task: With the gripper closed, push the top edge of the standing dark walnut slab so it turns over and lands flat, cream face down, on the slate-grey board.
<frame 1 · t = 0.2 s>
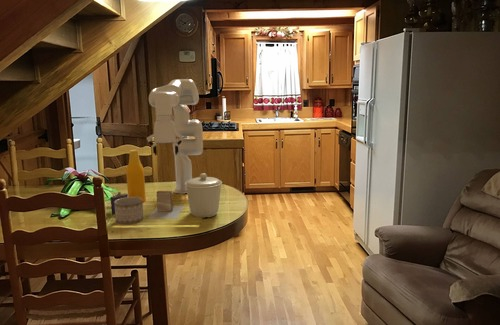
hand: (166, 154, 193), 31 cm above the table, fingers open, 9 cm apart
board: (166, 213, 201), on the table
canister: (204, 215, 199), on the table
slab: (165, 210, 203), point 1 cm above the table, touching board
planter: (130, 222, 191), on the table
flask: (120, 212, 204), on the table
beer bottle: (137, 203, 220), on the table
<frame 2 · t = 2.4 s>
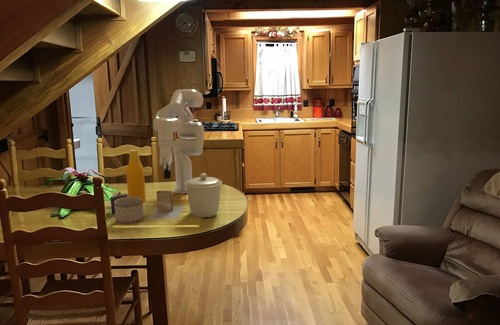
hand: (167, 178, 209), 16 cm above the table, fingers closed
nothing on the table moved.
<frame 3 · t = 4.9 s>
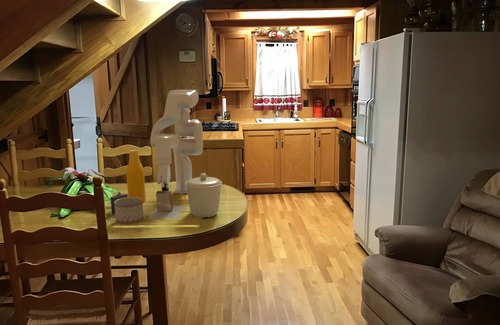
hand: (165, 196, 204), 8 cm above the table, fingers closed
slab: (165, 210, 203), point 1 cm above the table, tilted 8°, touching board, gripper
everything else where it was.
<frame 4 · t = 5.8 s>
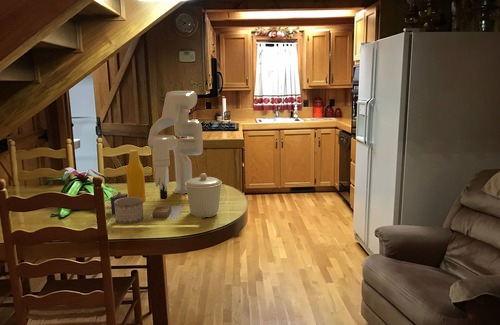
hand: (163, 198, 200), 8 cm above the table, fingers closed
slab: (164, 208, 201), point 3 cm above the table, tilted 90°, touching board
everything else where it was.
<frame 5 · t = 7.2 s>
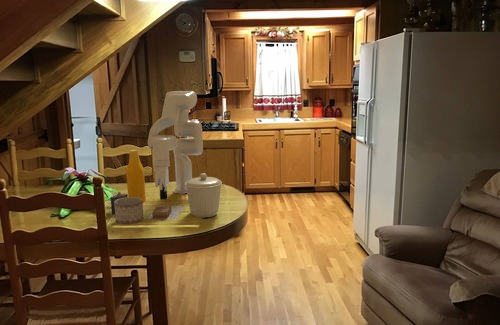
hand: (163, 199, 200), 8 cm above the table, fingers closed
nothing on the table moved.
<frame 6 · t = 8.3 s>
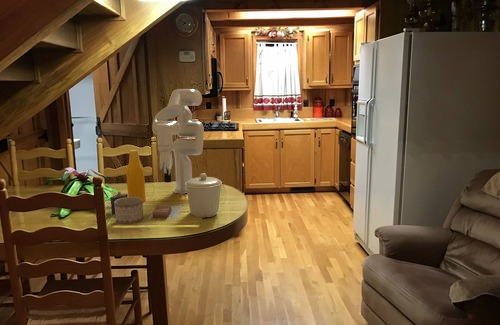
hand: (168, 181, 210), 14 cm above the table, fingers closed
nothing on the table moved.
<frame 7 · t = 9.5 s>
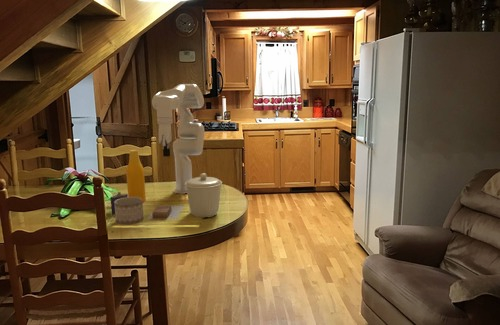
hand: (166, 156, 208), 27 cm above the table, fingers closed
nothing on the table moved.
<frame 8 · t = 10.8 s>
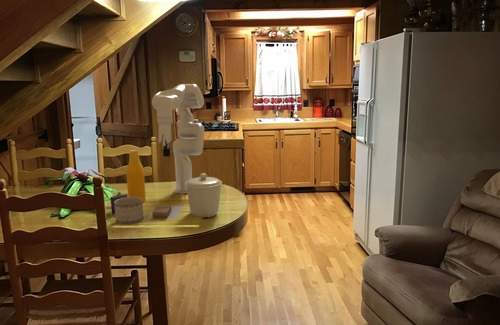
hand: (166, 156, 208), 27 cm above the table, fingers closed
nothing on the table moved.
at the end: slab tilted 90°; slab inside the target area (3.4 cm from its centre), point 2.6 cm above the table; slab touching board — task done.
